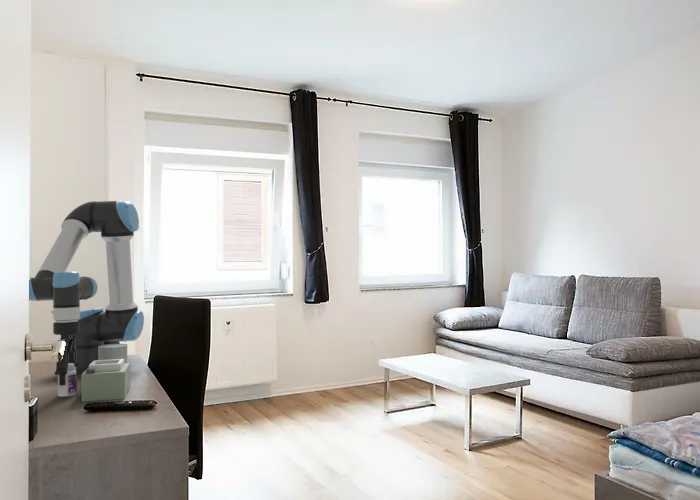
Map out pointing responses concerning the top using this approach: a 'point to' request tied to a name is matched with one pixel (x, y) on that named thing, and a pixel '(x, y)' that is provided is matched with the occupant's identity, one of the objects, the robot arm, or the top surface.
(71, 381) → the pill bottle
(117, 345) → the speckled grey cylinder
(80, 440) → the top surface
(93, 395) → the green open box
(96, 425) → the top surface
